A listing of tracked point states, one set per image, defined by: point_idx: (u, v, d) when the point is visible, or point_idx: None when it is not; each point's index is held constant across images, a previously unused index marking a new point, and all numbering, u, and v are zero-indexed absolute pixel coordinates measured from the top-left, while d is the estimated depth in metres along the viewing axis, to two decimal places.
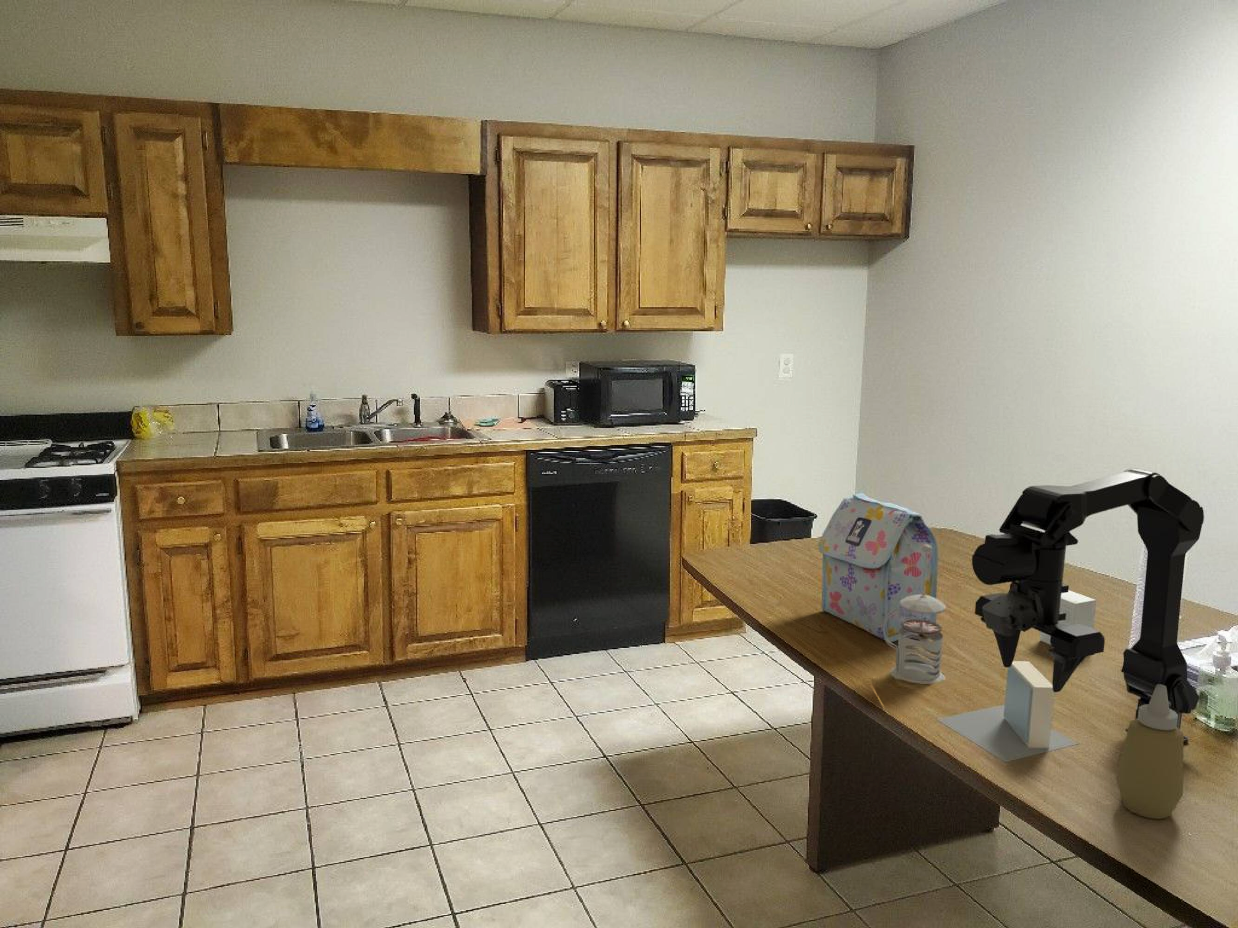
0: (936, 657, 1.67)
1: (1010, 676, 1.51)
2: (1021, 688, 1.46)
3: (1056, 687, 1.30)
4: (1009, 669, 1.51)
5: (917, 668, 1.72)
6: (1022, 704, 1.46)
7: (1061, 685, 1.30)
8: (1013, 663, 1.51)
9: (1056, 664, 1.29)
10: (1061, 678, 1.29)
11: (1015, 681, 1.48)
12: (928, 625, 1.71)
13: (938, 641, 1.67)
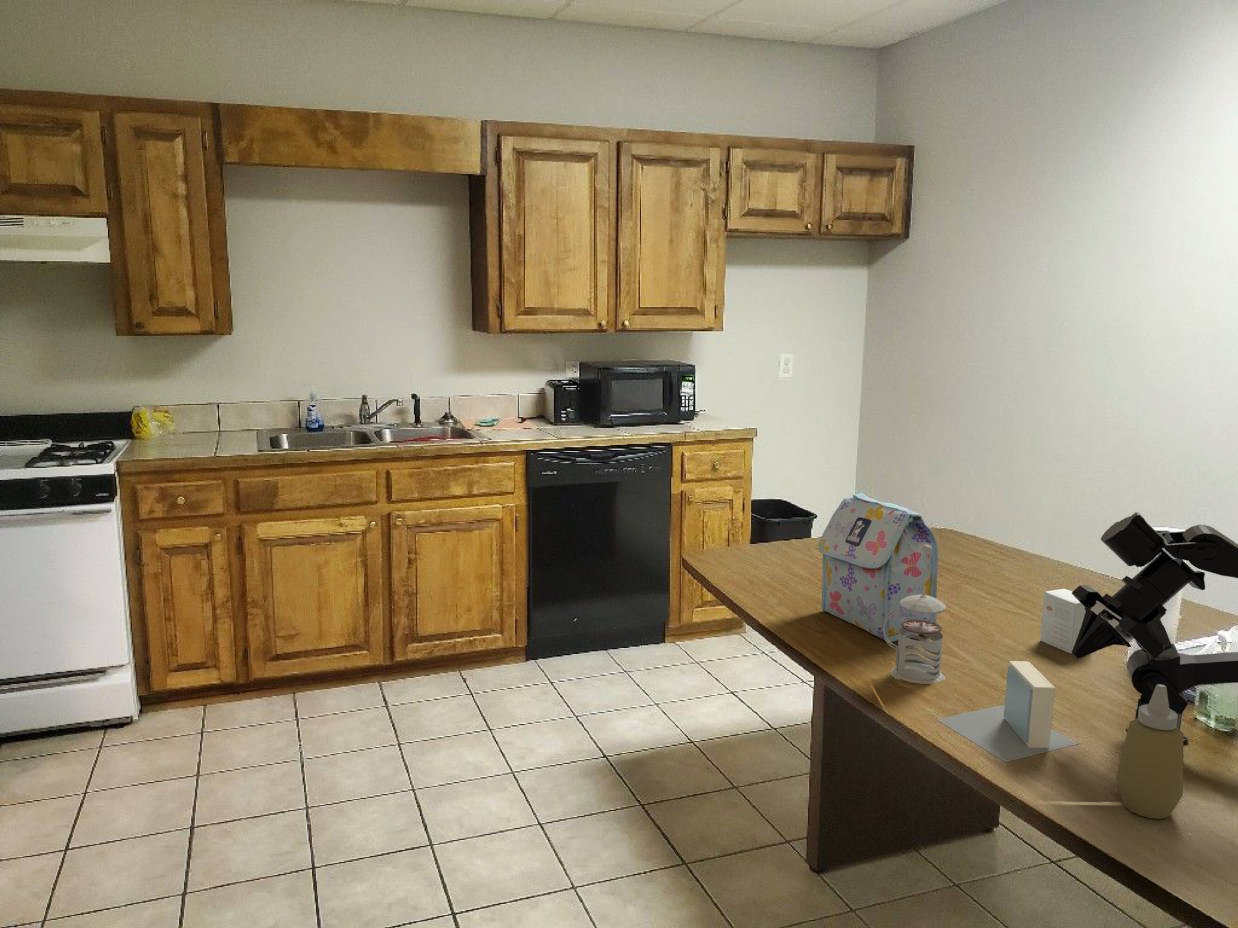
0: (936, 657, 1.67)
1: (1010, 676, 1.51)
2: (1021, 688, 1.46)
3: None
4: (1009, 669, 1.51)
5: (917, 668, 1.72)
6: (1022, 704, 1.46)
7: None
8: (1013, 663, 1.51)
9: None
10: None
11: (1015, 681, 1.48)
12: (928, 625, 1.71)
13: (938, 641, 1.67)
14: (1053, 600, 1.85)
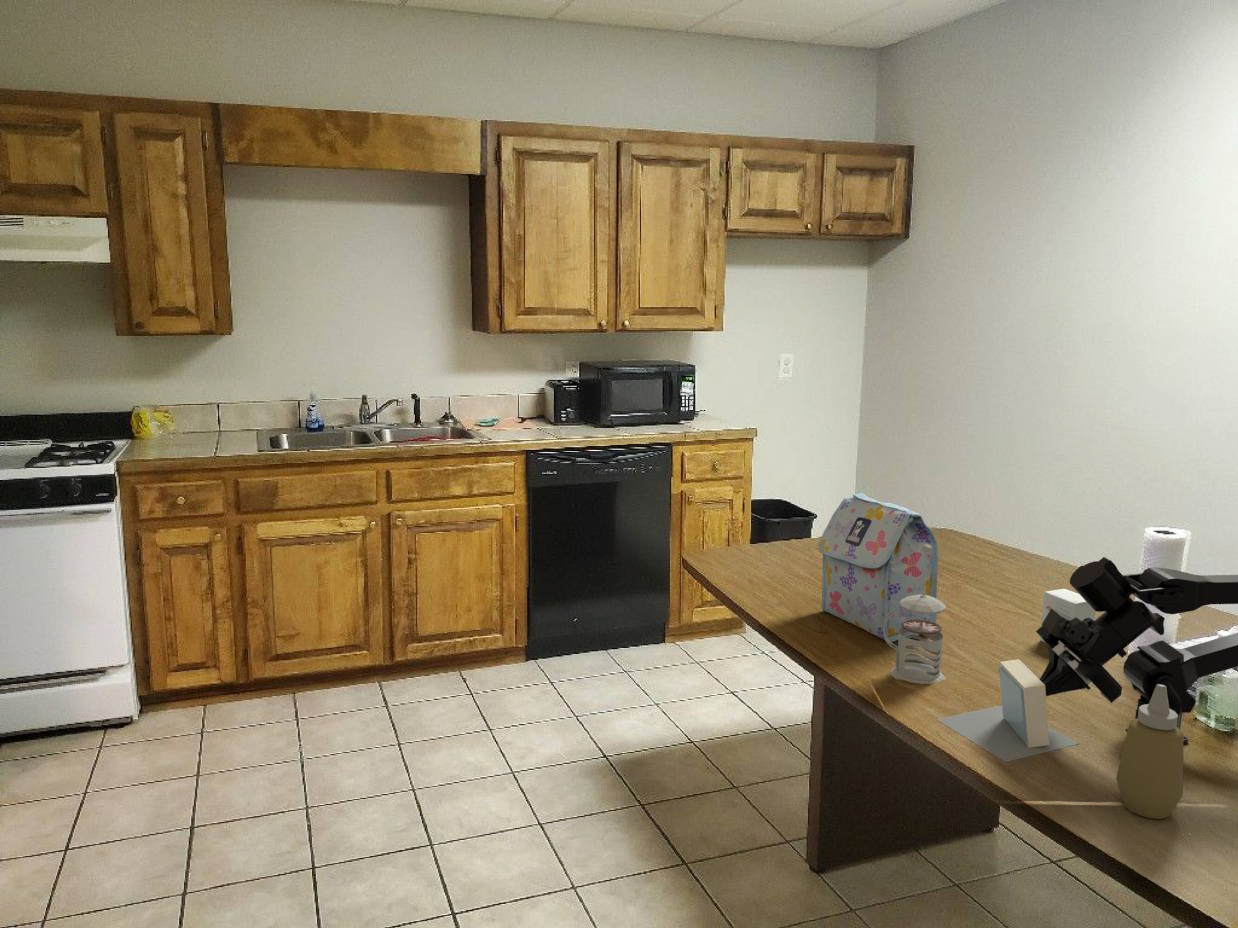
0: (936, 657, 1.67)
1: (1002, 677, 1.51)
2: (1013, 689, 1.46)
3: None
4: (1000, 670, 1.51)
5: (917, 668, 1.72)
6: (1016, 705, 1.46)
7: None
8: (1003, 663, 1.51)
9: (1054, 673, 1.46)
10: (1048, 686, 1.46)
11: (1007, 682, 1.48)
12: (928, 625, 1.71)
13: (938, 641, 1.67)
14: (1053, 600, 1.85)
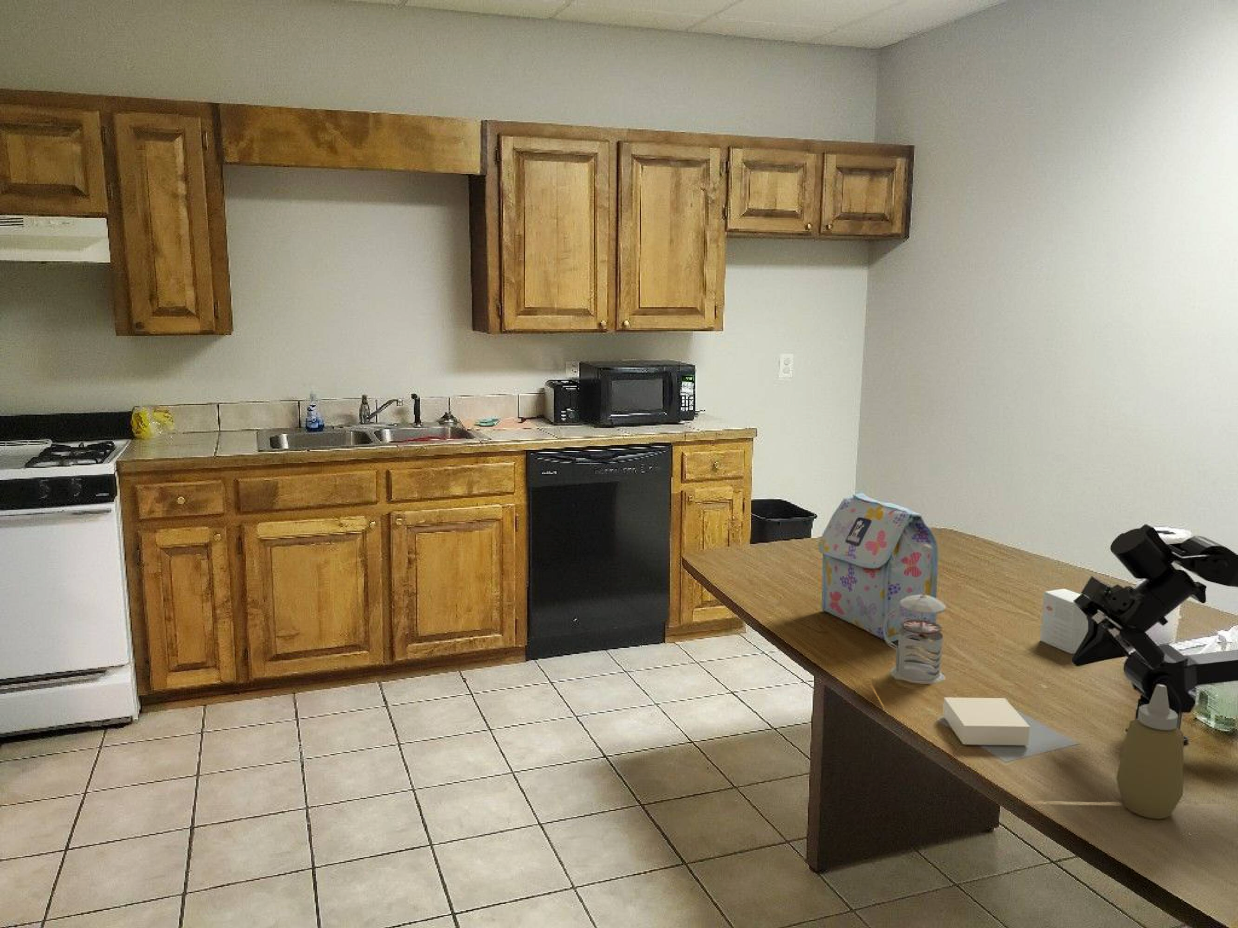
0: (936, 657, 1.67)
1: None
2: None
3: (1077, 659, 1.46)
4: None
5: (917, 668, 1.72)
6: None
7: (1081, 661, 1.46)
8: (944, 715, 1.53)
9: (1094, 641, 1.45)
10: (1087, 655, 1.45)
11: None
12: (928, 625, 1.71)
13: (938, 641, 1.67)
14: (1053, 600, 1.85)
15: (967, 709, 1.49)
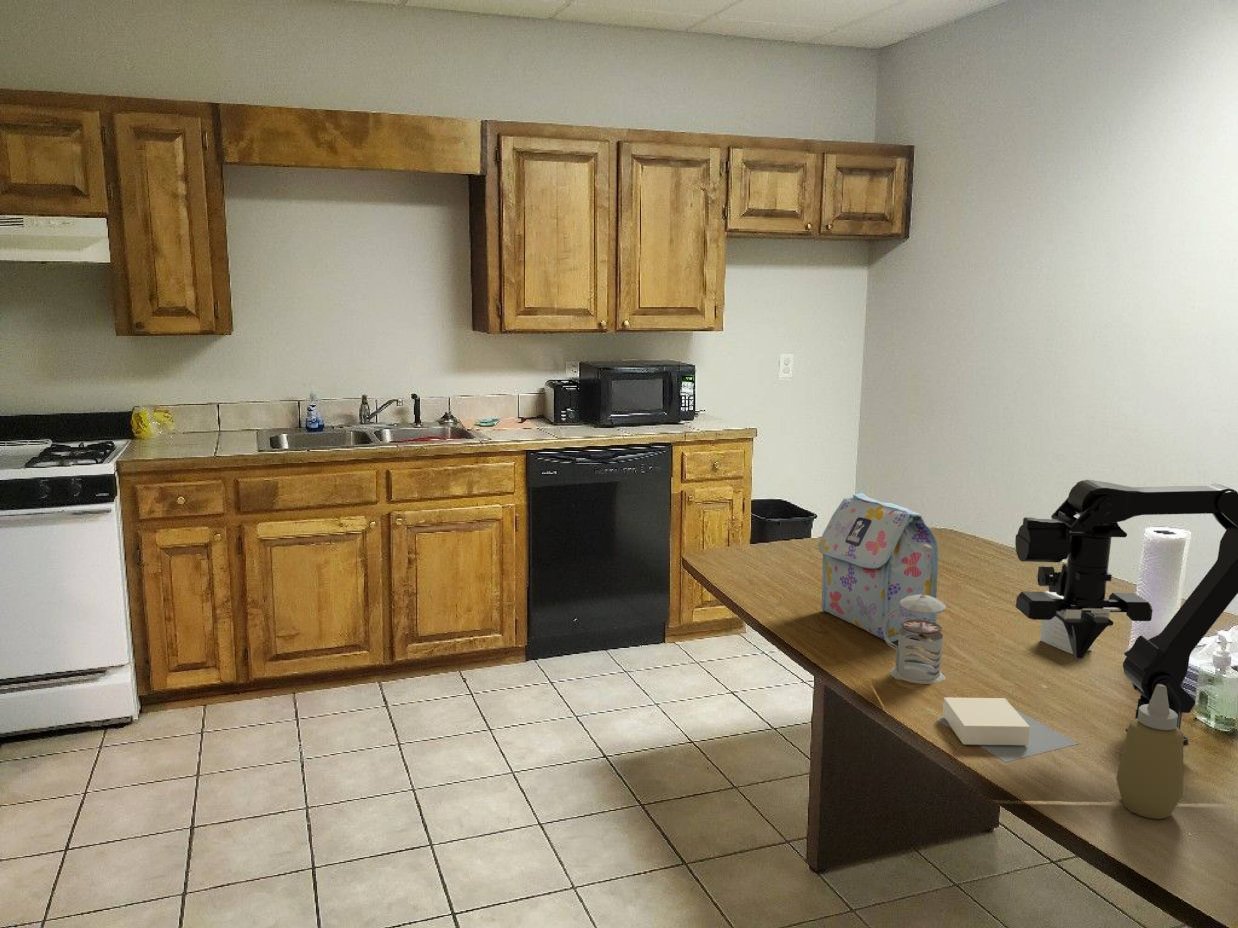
0: (936, 657, 1.67)
1: None
2: None
3: (1072, 650, 1.47)
4: None
5: (917, 668, 1.72)
6: None
7: (1074, 651, 1.46)
8: (944, 715, 1.53)
9: None
10: (1071, 642, 1.47)
11: None
12: (928, 625, 1.71)
13: (938, 641, 1.67)
14: None
15: (967, 709, 1.49)
